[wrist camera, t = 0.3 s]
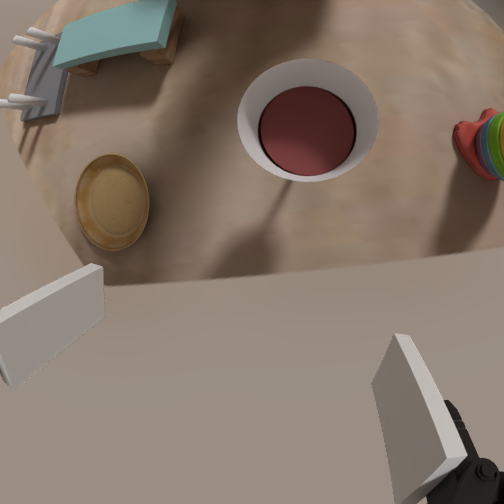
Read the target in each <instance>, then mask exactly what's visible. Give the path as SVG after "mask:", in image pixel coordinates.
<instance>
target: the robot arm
mask: <svg viewBox="0 0 504 504" xmlns="http://www.w3.org/2000/svg"><path fill="white" fill-rule="evenodd" d="M104 318H105V305H104V282H103V267H102V266H99V265H96V264H93V263H90V264H88V265H86V266H84V267H82V268H80V269H78V270H76V271H74V272H72V273H70V274H67V275H65V276H63V277H61V278H59V279H57V280H56V281H53V282H51V283H49V284H48V285H45V286H43V287H41V288H39V289H38V290H36V291H34V292H32V293H30V294H28V295H26V296H24V297H22V298H20V299H18V300H16V301H14V302H13V303H11V304H9V305H7V306H5V307H3V308H1V309H0V373H1V376H2V378H3V381H4V382H5V383H6V384H7V385H9V386H10V387H11V388H12V389H14V390H16V389H17V388H18V387H19V386H21V385H22V384H23V383H24V382H26V381H27V380H28V379H29V378H30V377H32V376H33V375H34V374H35V373H36V372H38V371H39V370H40V369H41V368H43V367H44V366H45V365H46V364H47V363H49V362H50V361H51V360H52V359H54V358H55V357H56V356H57V355H59V354H60V353H61V352H62V351H63V350H65V349H66V348H67V347H68V346H70V345H71V344H72V343H73V342H75V341H76V340H77V339H79V338H80V337H81V336H82V335H84V334H85V333H86V332H88V331H89V330H90V329H91V328H93V327H94V326H95V325H96V324H98V323H99V322H101V321H102V320H103V319H104ZM372 388H373V392H374V396H375V400H376V405H377V409H378V413H379V418H380V422H381V427H382V432H383V436H384V442H385V447H386V452H387V457H388V463H389V469H390V475H391V481H392V487H393V494H394V501H395V504H417V503H418V502H419V501H420V500H421V499H423V498H424V497H425V496H426V498H427V502H428V503H427V504H504V472H500V471H499V470H498V468H497V466H496V465H495V464H494V463H493V462H492V461H491V460H489V459H486V458H479V456H478V454H477V452H476V449H475V447H474V445H473V443H472V440H471V438H470V436H469V433H468V431H467V429H465V425H464V423H463V421H461V420H462V418H461V416H460V414H459V412H458V410H457V409H456V408H455V407H454V406H453V404H452V403H451V402H450V401H449V400H443V398H442V397H441V394H440V393H439V390H438V388H437V386H436V384H435V382H434V380H433V378H432V376H431V375H430V373H429V371H428V369H427V367H426V365H425V363H424V361H423V359H422V358H421V356H420V354H419V352H418V350H417V348H416V347H415V345H414V343H413V341H412V340H411V338H410V336H409V335H402V334H395V333H394V335H393V337H392V340H391V342H390V344H389V347H388V349H387V351H386V354H385V356H384V358H383V360H382V362H381V365H380V367H379V369H378V371H377V373H376V375H375V377H374V379H373V381H372Z"/></svg>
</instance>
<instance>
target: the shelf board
mask: <svg viewBox="0 0 504 504" xmlns="http://www.w3.org/2000/svg"><path fill="white" fill-rule="evenodd" d="M176 5H177V2H176V1H175V0H141V1H137V2H133V3H129V4H125V5H121V6H118V7H114V8H111V9H108V10H105V11H101V12H98V13H95V14H93V15H90V16H87V17H84V18H81V19H79V20H76V21H74V22H71V23H69V24H66V25H65V27H64V30H63V33H62V35H61V39H60V42H59V45H58V48H57V52H56V55H55V59H54V62H53V67H56V68H60V69H65V68H69V67H72V66H75V65H79V64H83V63H87V62H90V61H95V60H99V59H103V58H108V57H112V56H117V55H122V54H128V53H134V52H140V51H146V50H153V49H161V48H165V47H166V43H167V39H168V35H169V31H170V27H171V23H172V20H173V16H174V12H175V9H176Z"/></svg>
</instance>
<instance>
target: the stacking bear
mask: <svg viewBox="0 0 504 504" xmlns="http://www.w3.org/2000/svg"><path fill="white" fill-rule="evenodd" d="M454 138H455V141H456V143H457V145H458V147H459V149H460V151H461V153H462V155H463V157H464V158H465V160H466V161H467V162H468V164H469V165H470V166H471V167H472V169H473V170H474V171H475V172H476V173H477V174H479V175H480V176H481V177H483V178H485V179H487V180H496V179H500V180H502V181H504V112H502V113H499V112H497V111H496V110H494V109H492V108H489V109H485V110H484V111H483V112H482V115H481V117H480V119H479V120H478V121H477V122H475V123H471V122H467V121H461V122H459V124H456V125H455V131H454Z"/></svg>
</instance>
